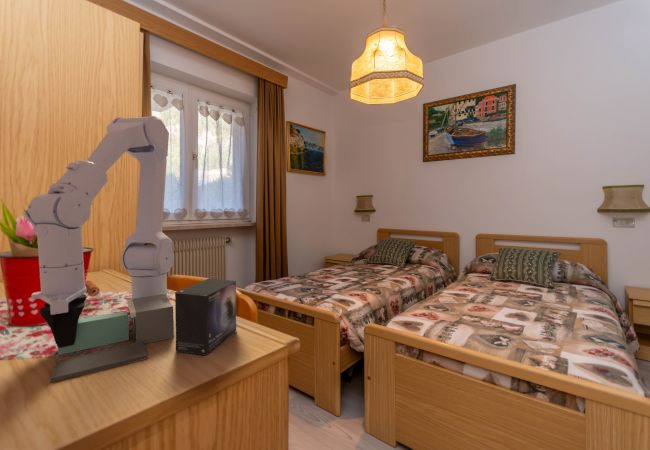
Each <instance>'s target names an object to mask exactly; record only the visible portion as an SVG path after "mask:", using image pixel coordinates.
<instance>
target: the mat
mask: <svg viewBox="0 0 650 450" xmlns="http://www.w3.org/2000/svg"><path fill="white" fill-rule="evenodd" d="M146 359H148V353H147V349H146V344H144V341H143V342H139V343H137V342H135V343H130V344H125V345H120V346H117V347H112V348H109V349H108V348H107V349H103V350H99V351H94V352H90V353H86V354H85V353H84V354H80V355H76V356H72V357H68V358H62V359H58V360H55V362H54V365H53V369H52V372H51V376H50V379H49V380H50V382H49V383H55V382H56V383H57V382H58V381H59V382H60V381H62V380H67V379H71V378H74V377H79V376H84V375H88V374H90V373H94V372H99V371H103V370H107V369H112V368H116V367H118V366H122V365H127V364H130V363H134V362H138V361H143V360H146Z"/></svg>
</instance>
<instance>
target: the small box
mask: <svg viewBox="0 0 650 450" xmlns="http://www.w3.org/2000/svg"><path fill="white" fill-rule="evenodd" d="M236 291H237V280H229V279H220V278H210V277H209V278H207V279H204V280H202V281H199V282H197V283H195V284H192V285H190V286H187V287H184V288H183V289H180V290H177V291H175V292H174V298H175V299H174V301H175V305H174V307H175V309H174V310H175V311H174V312H175V314H174V315H175V316H174V317H175V352H179V353H185V354H187V353H188V354H192V355H193V354H195V355H203V356H207V355H209V354H210V353H212V351H214V350H215V349H216V348H217V347H219V346H220V345H221V344H222V343H224V342H225V341H226V340H227V339H229V338H230V336H232V335H233V334H234V333H236V332H237V292H236ZM235 331H236V332H235Z"/></svg>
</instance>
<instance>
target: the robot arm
mask: <svg viewBox="0 0 650 450" xmlns="http://www.w3.org/2000/svg"><path fill="white" fill-rule="evenodd" d="M106 132H107V133H106V134H105V135H104V136H103V138H102V139H101V140H100V142H99V143H98V144H97V146H96V147H95V149H94V150H93V151H92V153H91V154H90V156H89V157H88V158H87V159H86V160H76V161H75V162H69V163H68V164H67V165H66V171H65V172H64V174H62V176H60V178H58V180H57V181H55V182H54V183H51V185H50V186H48V189H49V190H48V191H47V192H46V193H39V194H37V195H36V196H35V197H33V198H32V199H31V201H30V202H29V204H28V206H27V209H25V210H24V211H23V212H24V215H25V218H26V220H27V221H28V222H29V223H30V224H31V226H32V227H33V230H34V231H33V232H34V235H36V238H37V239H36V240H37V251H38V264H39V279H40V280H39V281H40V291H36V292H33V293H32V294H31V296H30V297H31V300H37V299H38V300H39V299H40V300H42V301H43V302H45V303H44V304H43V306H42V307H40V309H39V314H40V316H41V317H42V319H43V320H45V322H46V323H47V324H48V326H49V328H50V330H51V331H50V332H51V333H52V336H53V338H54V342H55V345H56V346H57V349H58V348H61V347H66V346H71V345H74V342H75V338H76V332H77V324H78V319H80V316H81V314H82V312H83V310H84V308H85V305H86V303H85V301H86V300H87V294H86V293H87V291H88V289H87V286H86V280H85V266H84V265H85V263H84V250H83V249H84V248H83V245H84V244H83V231H82V227H83V225H84V224H85V223H86V222H87V221H89V220H90V217H91V207H92V205H93V200H95V198H97V195H98V194H99V193H100V192H101V190H102V189H103V188H104V187H105V185H106V184H107V183H108V180H109V179H108V175H107V172H108V171H109V170H110V169H111V168H112V166H114V164H115V163H116V162H117V161H118V160H119V159H120V158H121V157H122V156H123V155H124V154H125V153H127V154H128V155H130V157H132V158H133V159H135V160H137V161H138V163H139V165H140V166H139V175H138V176H139V178H138V194H137V205H136V217H135V218H136V221H135V222H136V223H135V231H134V232H133V233H132V234H130V235H129V236H128V237H127V238H126V239H125V244H124V247H123V249H122V252H121V255H120V263H121V266H122V267H123V269H125V270H126V271H127V275H128V276H129V275H130V283H131V284H130V285H131V286H130V287H131V298H132V299H134V298H141V297H148V296H154V295H161V294H166V296H167V297H168V284H167V282H168V281H167V273H168V272H170V270H171V268H172V266H173V265H174V262H175V253H174V250H173V239H171V238H170V237H169V236H167V235H166V234H165V233H164V232H163V222H164V221H163V220H164V207H165V204H164V203H165V194H166V193H165V192H166V191H165V190H166V175H167V160H168V159H167V158H168V153H169V140H170V139H169V137H170V133H169V130H168V129H167V127H166V125H165V122H163V120H162V118H160V117H159V116H156V115H150V116H141V117H139V116H138V117H121V116H120V117H119V116H118V117H115V118H113V120H112V121H111V122H110V123H109V124H108V125H106ZM152 244H153V245H152ZM130 318H131V319H133V317H130Z"/></svg>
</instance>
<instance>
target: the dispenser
mask: <svg viewBox="0 0 650 450" xmlns="http://www.w3.org/2000/svg"><path fill="white" fill-rule="evenodd" d="M126 300H127V307H128V312H129V316H130V318H131V317H133V318H132V324H133V325H132V326H133V333H135V343H139V342H143V341H144V344H145V345H146V344H150V343H154V342H159V341H163V340H169V339H171V338H174V337H175V328H174V327H175V324H174V305H173V303H172V302H171V301H170V299H169V297H168V295H167V296H166V294H161V295H154V296H148V297H141V298H134V299H132V297H131V298H127V299H126Z"/></svg>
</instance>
